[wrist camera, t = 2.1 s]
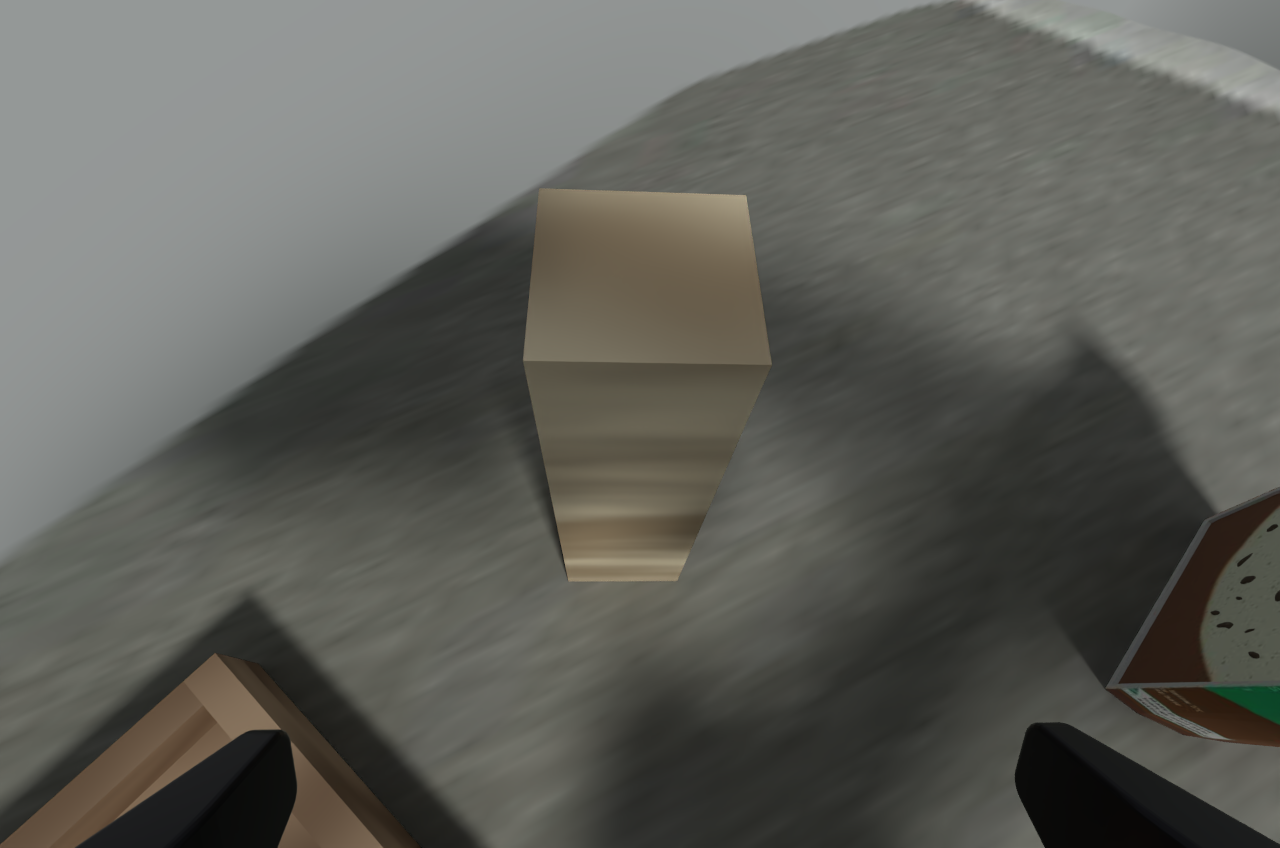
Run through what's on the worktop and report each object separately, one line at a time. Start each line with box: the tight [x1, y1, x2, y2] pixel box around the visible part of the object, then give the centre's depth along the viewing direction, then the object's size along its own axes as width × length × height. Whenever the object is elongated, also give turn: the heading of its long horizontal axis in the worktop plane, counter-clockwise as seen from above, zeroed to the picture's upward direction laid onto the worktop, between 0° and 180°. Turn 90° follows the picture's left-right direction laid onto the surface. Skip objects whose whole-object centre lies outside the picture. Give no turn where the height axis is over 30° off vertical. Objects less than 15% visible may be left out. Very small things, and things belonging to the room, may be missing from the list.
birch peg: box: [523, 188, 772, 581], centre depth 17 cm, size 4×4×14 cm
